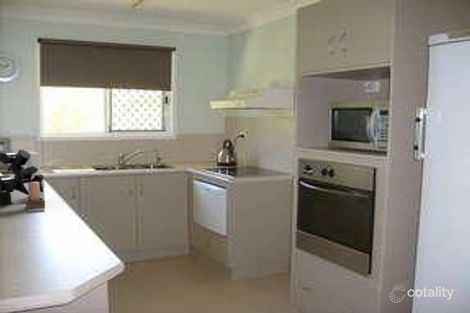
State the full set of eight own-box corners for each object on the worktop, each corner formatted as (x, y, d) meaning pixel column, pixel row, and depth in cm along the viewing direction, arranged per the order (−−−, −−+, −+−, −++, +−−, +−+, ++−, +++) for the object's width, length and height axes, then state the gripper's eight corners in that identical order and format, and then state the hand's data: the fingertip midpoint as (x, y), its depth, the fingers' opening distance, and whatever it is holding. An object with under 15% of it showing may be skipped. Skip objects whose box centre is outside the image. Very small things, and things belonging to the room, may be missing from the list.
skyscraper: (35, 197, 280) (33, 150, 278) (24, 197, 282) (22, 150, 280) (43, 195, 288) (41, 149, 286) (32, 195, 290) (30, 149, 287)
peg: (29, 207, 248) (27, 182, 247) (35, 206, 253) (34, 181, 251) (35, 208, 247) (34, 183, 246) (42, 206, 251) (41, 182, 250)
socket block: (26, 206, 252) (26, 198, 252) (44, 205, 255) (44, 197, 255) (26, 209, 244) (25, 201, 243) (45, 207, 247) (44, 200, 247)
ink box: (36, 200, 269) (35, 180, 268) (28, 200, 270) (27, 180, 269) (45, 198, 278) (44, 178, 277) (37, 198, 279) (36, 178, 278)
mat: (27, 210, 241) (27, 209, 241) (44, 208, 244) (44, 207, 244) (26, 213, 234) (26, 211, 234) (44, 211, 237) (44, 210, 237)
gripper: (11, 162, 241) (28, 185, 238) (40, 159, 258) (57, 180, 254) (1, 177, 245) (18, 200, 241) (30, 173, 262) (46, 194, 258)
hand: (35, 193), depth 249 cm, fingers open, 9 cm apart
